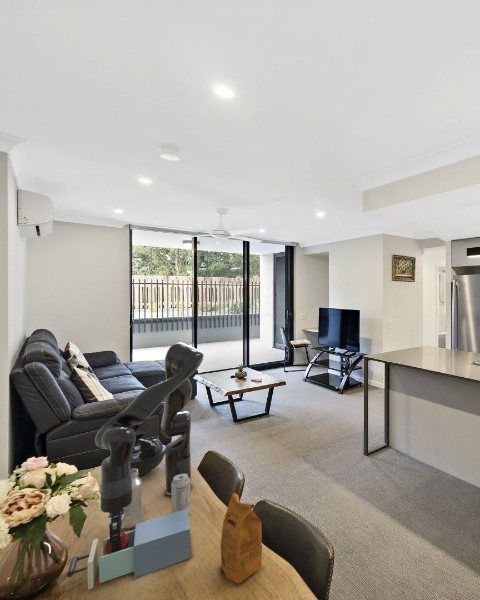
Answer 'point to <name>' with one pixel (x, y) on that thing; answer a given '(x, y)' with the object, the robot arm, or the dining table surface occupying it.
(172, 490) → the energy drink can
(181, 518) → the cabinet
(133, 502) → the plastic bottle
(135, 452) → the coal bowl
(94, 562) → the drawer
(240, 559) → the coffee package
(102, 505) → the robot arm
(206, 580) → the dining table surface
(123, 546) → the onion
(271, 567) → the dining table surface
